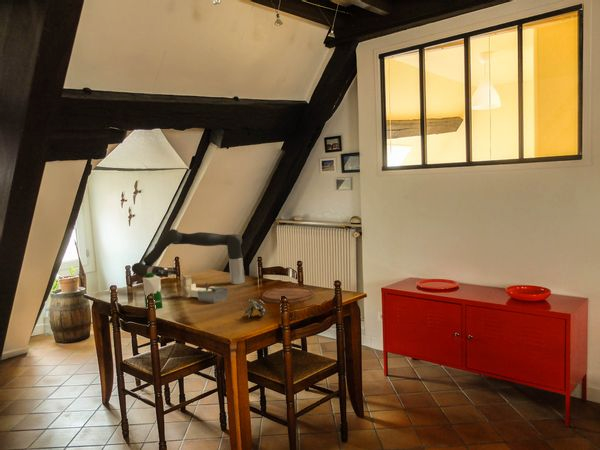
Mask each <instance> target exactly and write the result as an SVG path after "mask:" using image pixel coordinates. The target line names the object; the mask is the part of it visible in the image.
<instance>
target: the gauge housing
mask: <svg viewBox="0 0 600 450" xmlns="http://www.w3.org/2000/svg"><path fill="white" fill-rule="evenodd" d="M208 289H212V291H204V290H198V297H197V301H198V302H201V303H210V304H217V303H219V302H222V301H224V300H227V299H229V291H228V289H229V288H228V287H224V286H222V287H220V286H213V285H211V286H208Z"/></svg>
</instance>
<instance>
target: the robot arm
mask: <svg viewBox="0 0 600 450" xmlns="http://www.w3.org/2000/svg"><path fill="white" fill-rule="evenodd" d="M242 244H243V238H242V236H240V235H239V234H236V233H232V234H222V233H221V234H220V233H215V232H205V231H203V232H202V231H201V232H199V231H198V232H193V233H184V232H179V230H177V229H174V228H172V229H169V230H168V231H167V232H166V233H165V234H164V236H163V237H162V239H161V240H160V241H159V242H158V243H157V244H156V246H155V247H154V248H153V249H152V250H151V251H150V252H149V253H147V254H146V256H145V257H144V258H143V260H142V261H143V262H144V263H141V262H135V263H134V264H133V265H132V266H131V271H132V273H133V274H134V275H136V276H137V277H139V278H144V277H146V274H147V273H153V276H159V277H161V279H162V278H169V276H172V275H179V270H177V269H174V268H173V269H172V268H169V269H165V268H164V267H162V266H157V265H154V264H155V263H156V262H157V261H158V260H159V259H160V258H161V256H162V254H163V253H164V252H165V250H166V249H167V248H168V247H169V246H170V245H192V246H201V247H202V246H203V247H215V246H226V247H227V254H228V263H229V275H230V276H229V279H230V284H232V285H241V284H245V282H246V281H245V280H246V279H245V269H244V260H243V253H242V246H241V245H242Z"/></svg>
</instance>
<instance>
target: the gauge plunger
mask: <svg viewBox="0 0 600 450" xmlns="http://www.w3.org/2000/svg"><path fill="white" fill-rule="evenodd" d="M198 290H204V291H212V289H209V284H208V282H207V283H205V287H197V284H196V283H192V284H191V285H190V297H193V298H198Z"/></svg>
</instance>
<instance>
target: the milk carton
mask: <svg viewBox="0 0 600 450" xmlns="http://www.w3.org/2000/svg"><path fill="white" fill-rule="evenodd" d="M161 279H162V278H161V277H159V276H153V273H147V274H146V276H143V277H142V282H143V292H144V303H145V308H146V307H147V296H148V295H149V294H153V295H154V300H155V305H156V309H155V310H158V309H163V308H162V307H163V298H162V288H161V285H162V284H161ZM157 308H158V309H157Z"/></svg>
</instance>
